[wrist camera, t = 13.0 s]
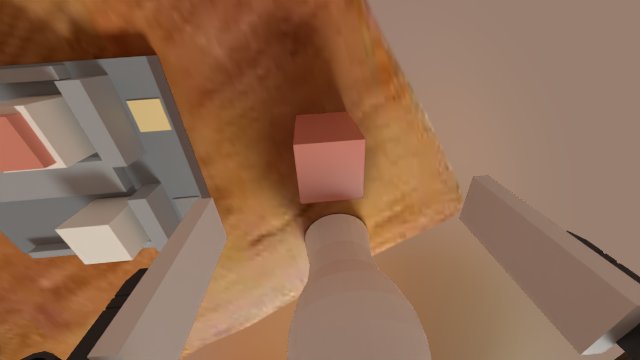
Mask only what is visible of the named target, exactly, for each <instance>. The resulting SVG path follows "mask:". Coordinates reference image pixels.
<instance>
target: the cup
mask: <svg viewBox="0 0 640 360" xmlns="http://www.w3.org/2000/svg"><path fill="white" fill-rule="evenodd" d="M305 244H306V250H307V255H308V259H309V263H310V268H309V276H308V282H307V283H306V285H305V287H304V289H303V291H302V293H301V294H300V296H299V298H298V301H297V305H296V308H295V311H294V315H293V318H292V321H291V325H290V329H289V336H288V356H287V360H431V355H430V351H429V346H428V341H427V337H426V335H425V332H424V330H423V328H422V326H421V323H420V321H419V319H418V316H417V314H416V312H415V309H414V308H413V307H412V306H411V304H410V303H409V302H408V300H407V299H406V298H405V296H404V295H403V294H402V292H401V291H400V290H399V288H398V287H397V286H396V285H395V284H394V282H393V281H392V280H391V279H390V278H388V277H387V276H386V275H385V274H384V273H383V272H382V271H380V270H379V269H378V267H377V265H376V263H375V261H374V259H373V257H372V255H371V249H370V240H369V235H368V231H367V228H366V226H365V225H364V223H363V222H362V221H361V220H359V219H358V218H356V217H354V216H351V215H347V214H332V215H328V216H325V217H322V218H320V219H319V220H317V221H315V222H314V223H313V224H312V225H311V226H310V227H309V229H308V230H307V232H306V236H305Z"/></svg>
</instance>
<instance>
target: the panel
mask: <svg viewBox="0 0 640 360" xmlns="http://www.w3.org/2000/svg"><path fill="white" fill-rule="evenodd" d="M59 94H62V95H63V97H64V99H65V100H66V102H67V104H68V105H69V107H70V109H71V110H72V112H73V113H74V115H75V117H76V118H77V120H78V122H79V123H80V125H81V127H82V128H83V130H84V131H85V133H86V135H87V136H88V138H89V140H90V141H91V143H92V145H93V146H94V148H95V150H96V151H97V152H96V153H94V154H92V155H90V156H88V157H86V158H84V159H82V160H81V161H79V162H77V163H75V164H73V165H71V166H69V167H67V168H56V169H44V170H32V171H20V172H8V173H4V172H0V231H1V232H2V233H3V234H4V235H5V236H6V237H7V238H8V239H9V240H10V241H12V242H13V243H14V244H15V245H16V246H17V247H18V248H19V249H20V250H21V251H22V252H23V253H24V254H29V255H30V256H31V257H32V258H43V257H54V256H65V255H75V254H76V253H75V252H74V251H73V250H72V249H71V248H70V247H69V245H68V244H67V243H66V242H65V241H64V240H63V239H62V237H61V236H60V235H59V234H58V233H57V232H56V231H55V229H56V228H57V227H59V226H60V225H61V224H63V223H64V222H65V221H67V220H68V219H69V218H71V217H72V216H74V215H75V214H76V213H78V212H79V211H80V210H82V209H83V208H84V207H86V206H87V205H88V204H90V203H91V202H92V201H94V200H95V199H105V198H116V197H128V196H131V197H130V198H129V199H128V200H127V202H128V204H129V205H130V207H131V208H132V210H133V212H134V213H135V215H136V217H137V218H138V220H139V222H140V223H141V225H142V226H143V228H144V230H145V231H146V233H147V235H148V236H149V238H150V239H149V240H148V241H147V242H146V244H145V245H144V246H143V248H150V247H155V248H156V249H157V251H158V252H160V251H161V250H162V248H163V247H164V246H165V244H166V243H167V241H168V240H169V238H170V237H171V235H172V234H173V233H174V231H175V230H176V228H177V227H178V225H179V224H180V223H181V221H182V220H183V218H184V217H185V215H186V214H187V213H188V211H189V210H190V208H191V207H192V205H193V204H194V202H195V201H196V200H197V199H204V198H211V197H210V195H209V192H208V189H207V187H206V184H205V181H204V179H203V176H202V173H201V171H200V168H199V165H198V163H197V160H196V157H195V155H194V152H193V149H192V147H191V144H190V141H189V139H188V136H187V133H186V131H185V128H184V125H183V123H182V120H181V117H180V115H179V112H178V109H177V107H176V104H175V101H174V99H173V96H172V93H171V91H170V88H169V85H168V83H167V80H166V77H165V75H164V72H163V69H162V67H161V64H160V61H159V59H158V56H157V55H152V56H138V57H123V58H109V59H95V60H80V61H66V62H52V63H37V64H23V65H9V66H0V101H5V100H11V99H16V98H22V97H32V96H45V95H59Z"/></svg>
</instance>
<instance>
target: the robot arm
mask: <svg viewBox="0 0 640 360" xmlns="http://www.w3.org/2000/svg"><path fill="white" fill-rule="evenodd" d="M459 219H460V220H461V221H462V222H463V223H464V224H465V226H466V227H467V228H468V229H469V230H470V231H471V232H472V233H473V235H474V236H475V237H476V238H477V239H478V240H479V241H480V242H481V244H482V245H483V246H484V247H485V248H486V249H487V250H488V251H489V253H490V254H491V255H492V256H493V257H494V258H495V259H496V260H497V262H498V263H499V264H500V265H501V266H502V267H503V268H504V269H505V270H506V272H507V273H508V274H509V275H510V276H511V277H512V278H513V280H514V281H515V282H516V283H517V284H518V285H519V286H520V287H521V289H522V290H523V291H524V292H525V293H526V294H527V295H528V296H529V298H530V299H531V300H532V301H533V302H534V303H535V304H536V305H537V306H538V308H539V309H540V310H541V311H542V312H543V313H544V315H545V316H546V317H547V318H548V319H549V320H550V321H551V322H552V324H553V325H554V326H555V327H556V328H557V329H558V330H559V331H560V333H561V334H562V335H563V336H564V337H565V338H566V339H567V341H568V342H569V343H570V344H571V345H572V346H573V347H574V348H575V350H576V351H577V352H578V353H579V354H580V355H586V354H596V353H604V352H605V351H607V350H608V349H609V348H610V347H612V346H613V345H614V344H615V343H617V344H618V345H619V346H620V347H621V348H622V349H623V350H624V351H625V352H624V353H623V354H622V355H620V356H619V357H617V358H616V359H615V360H640V277H639V276H638V275H636V274H635V273H633V272H632V271H630V270H629V269H628V268H626V267H625V266H623V265H622V264H618V263H617V261H616V260H615V259H613V258H612V257H610V256H609V255H607V254H604V253H603V251H602V250H600V249H599V248H597V247H596V246H594V245H593V244H592V243H590V242H589V241H587V240H586V239H583V238H581V237H579V236H577V235H575V234H573V233H571V232H569V231H565V230H564V229H562V228H561V227H559V226H558V225H557V224H555V223H554V222H552V221H551V220H550V219H548V218H547V217H545V216H544V215H542V214H541V213H540V212H539V211H537V210H536V209H534V208H533V207H532V206H530V205H529V204H527V203H526V202H525V201H523V200H522V199H520V198H519V197H518V196H516V195H515V194H513V193H512V192H511V191H509V190H508V189H506V188H505V187H504V186H502V185H500V184H499V183H498V182H497V181H495V180H494V179H492V178H491V177H490V176H488V175H487V176H474V177H473V178H472V181H471V184H470V187H469V190H468V193H467V196H466V199H465V202H464V205H463V208H462V211H461V214H460V217H459ZM226 240H227V236H226V233H225V230H224V228H223V225H222V222H221V220H220V217H219V214H218V211H217V209H216V206H215V203H214V201H213V198H204V199H197V200H196V201H195V202H194V204H193V205H192V207H191V208H190V210H189V211H188V213H187V214H186V215H185V217H184V218H183V220H182V221H181V223H180V224H179V225H178V227H177V228H176V230H175V231H174V233H173V234H172V235H171V237H170V238H169V240H168V241H167V243H166V244H165V246H164V247H163V248H162V250H161V251H160V253H159V254H158V256H157V257H156V258H155V260H154V261H153V263H152V264H151V266H150V267H149V268H143V269H139V270H138V271H137V272H136V273H135V274H134V275H132V276H131V277H130V278H129V279H128V280H127V281H125V283H124V284H123V285H122V287H121V288H120V289H119V291H118V292H117V293H116V295H115V298H113V299H112V300H111V301H110V303H109V304H108V305H107V307H106V310H105V311H103V312H102V313H101V315H100V316H99V317H98V319H97V320H96V321H95V323H94V324H93V325H92V326H91V328H90V329H89V330H88V332H87V333H86V334H85V336H84V337H83V338H82V340H81V341H80V342H79V344H78V345H77V346H76V348H75V349H74V350H73V352H72V353H71V354H70V356H69V357H68V358H67V360H179V358H180V356H181V353H182V351H183V348H184V346H185V343H186V341H187V338H188V336H189V333H190V331H191V328H192V326H193V323H194V321H195V318H196V316H197V313H198V311H199V308H200V305H201V303H202V300H203V298H204V295H205V293H206V290H207V288H208V285H209V283H210V280H211V278H212V275H213V273H214V270H215V268H216V265H217V263H218V260H219V258H220V255H221V253H222V250H223V248H224V245H225V243H226ZM21 360H61V359H60V358H58V357H57V356H55V355H54V354H52V353H49V352H46V351H44V352H39V353H34V354H31V355H29V356H27V357H25V358H23V359H21Z"/></svg>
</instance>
